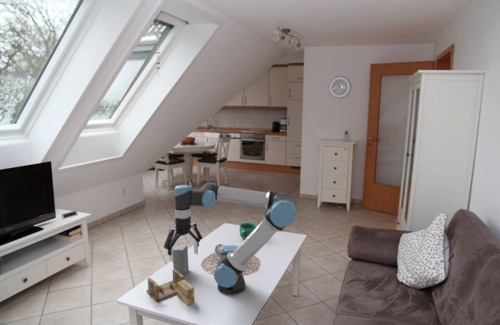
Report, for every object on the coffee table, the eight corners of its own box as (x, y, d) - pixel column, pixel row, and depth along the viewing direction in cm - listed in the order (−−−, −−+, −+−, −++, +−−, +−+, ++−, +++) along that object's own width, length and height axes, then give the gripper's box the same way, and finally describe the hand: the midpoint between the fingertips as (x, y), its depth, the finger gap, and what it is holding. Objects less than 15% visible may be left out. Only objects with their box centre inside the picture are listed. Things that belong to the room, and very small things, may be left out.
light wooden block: (184, 293, 178) (183, 279, 176) (194, 302, 170) (193, 287, 169) (177, 296, 175) (176, 282, 174) (187, 305, 168) (186, 290, 166)
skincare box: (183, 276, 195) (183, 250, 192) (172, 275, 196) (171, 249, 193) (189, 269, 203) (188, 244, 200) (178, 268, 204) (177, 243, 202)
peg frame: (186, 290, 181) (185, 276, 179) (156, 302, 170) (156, 287, 168) (175, 281, 190) (174, 268, 188) (146, 291, 179) (145, 278, 177)
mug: (245, 233, 259) (245, 221, 258) (259, 236, 253) (259, 224, 252) (233, 240, 245) (233, 228, 244) (248, 244, 239) (248, 231, 237)
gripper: (200, 209, 176) (201, 247, 180) (155, 219, 161) (157, 261, 164) (208, 213, 170) (209, 252, 174) (162, 224, 155) (164, 267, 159)
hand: (184, 256), depth 169 cm, fingers open, 13 cm apart
